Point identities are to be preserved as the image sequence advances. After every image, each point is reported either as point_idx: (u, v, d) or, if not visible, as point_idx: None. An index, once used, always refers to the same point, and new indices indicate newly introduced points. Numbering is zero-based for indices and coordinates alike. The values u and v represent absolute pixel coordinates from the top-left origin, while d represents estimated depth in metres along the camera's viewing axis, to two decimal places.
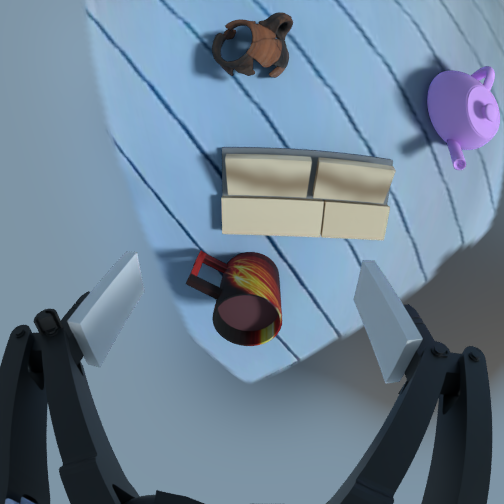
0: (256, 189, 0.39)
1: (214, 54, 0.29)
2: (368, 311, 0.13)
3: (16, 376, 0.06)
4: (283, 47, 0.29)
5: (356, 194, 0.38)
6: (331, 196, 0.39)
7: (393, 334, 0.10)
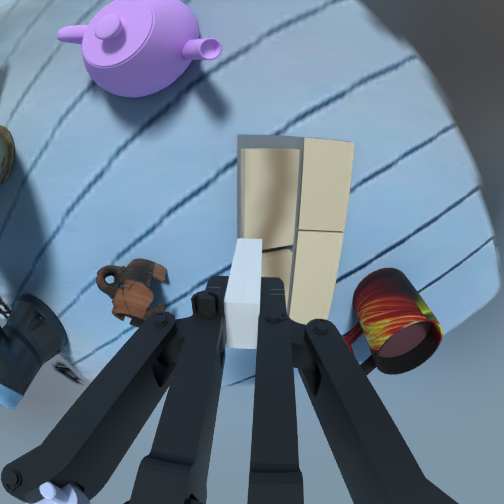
0: None
1: None
2: None
3: (134, 371, 0.08)
4: (131, 275, 0.35)
5: (287, 193, 0.30)
6: (291, 224, 0.32)
7: None
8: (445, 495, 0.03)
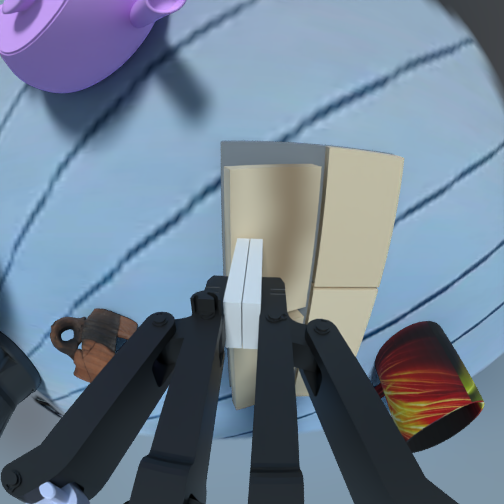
0: None
1: None
2: None
3: (133, 371, 0.08)
4: (90, 333, 0.24)
5: (300, 237, 0.19)
6: (303, 281, 0.21)
7: None
8: (445, 495, 0.03)
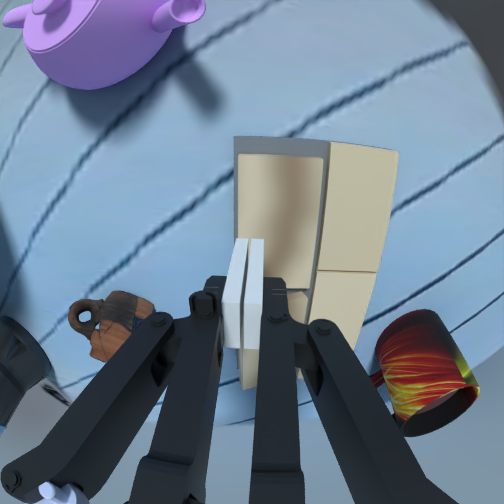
0: None
1: None
2: None
3: (132, 371, 0.08)
4: (108, 313, 0.26)
5: (302, 220, 0.22)
6: (306, 262, 0.23)
7: None
8: (446, 495, 0.03)
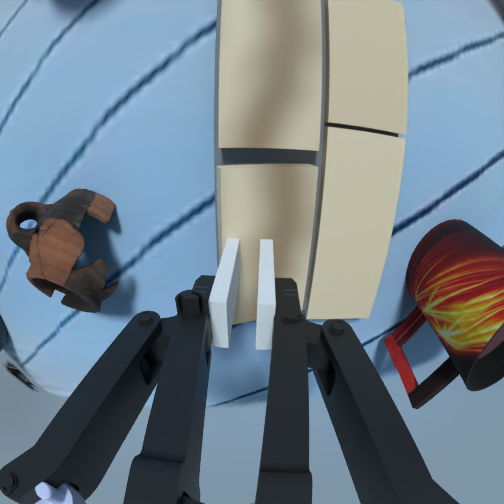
0: (294, 268, 0.20)
1: None
2: None
3: (121, 369, 0.08)
4: (54, 211, 0.17)
5: (301, 54, 0.14)
6: (312, 109, 0.15)
7: None
8: (451, 498, 0.03)
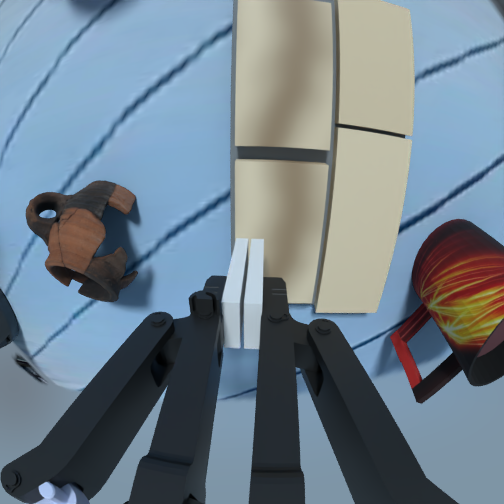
0: (303, 259, 0.21)
1: (107, 301, 0.22)
2: None
3: (132, 371, 0.08)
4: (75, 201, 0.19)
5: (313, 58, 0.14)
6: (324, 111, 0.16)
7: None
8: (446, 495, 0.03)
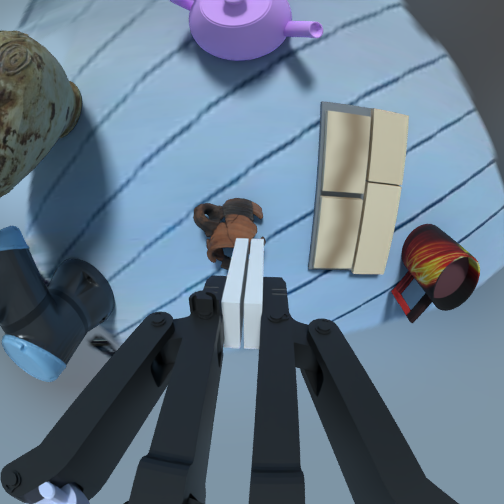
0: (349, 245, 0.41)
1: None
2: None
3: (132, 371, 0.08)
4: (232, 210, 0.38)
5: (360, 149, 0.34)
6: (362, 175, 0.36)
7: None
8: (446, 495, 0.03)
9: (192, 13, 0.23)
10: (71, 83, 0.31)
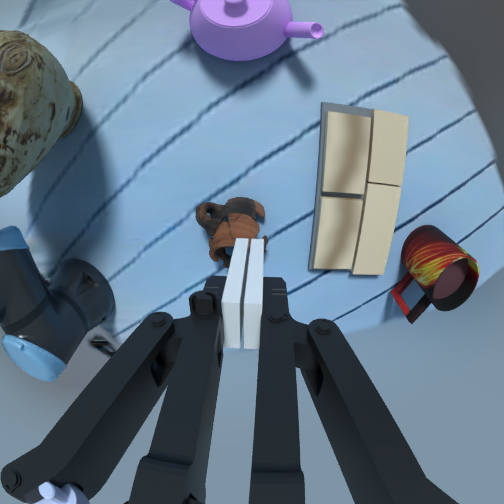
0: (348, 245, 0.41)
1: None
2: None
3: (132, 371, 0.08)
4: (234, 209, 0.38)
5: (360, 150, 0.34)
6: (362, 176, 0.36)
7: None
8: (446, 496, 0.03)
9: (193, 13, 0.23)
10: (71, 83, 0.31)
